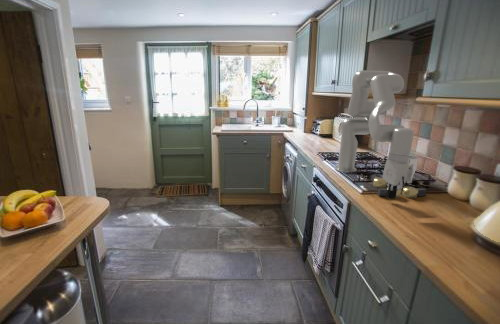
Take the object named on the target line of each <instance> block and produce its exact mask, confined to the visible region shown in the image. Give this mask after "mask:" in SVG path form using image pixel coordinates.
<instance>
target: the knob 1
mask: <svg viewBox="0 0 500 324" xmlns="http://www.w3.org/2000/svg"><path fill="white" fill-rule="evenodd" d="M387 191H388V188H387V187H386V188H377V193H376V194H377V196H378V197H386V196H387ZM401 195H402V189H398V191H397V193H396V198H395V199H396V200H398V199H401ZM395 199H394V200H395Z"/></svg>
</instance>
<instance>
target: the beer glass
mask: <svg viewBox="0 0 500 324" xmlns="http://www.w3.org/2000/svg"><path fill="white" fill-rule="evenodd" d="M418 160H419V157H418V156H415V155H411V154H410V156H409V161H408V171H407V179H406V183H405V184H412V183H413V178H414V175H415V172H416V170H417V167H418V162H419V161H418Z"/></svg>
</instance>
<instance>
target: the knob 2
mask: <svg viewBox="0 0 500 324" xmlns="http://www.w3.org/2000/svg"><path fill="white" fill-rule="evenodd" d="M426 194H427V188H422V187H421V188H415V187H414V186H407V185H406V186H402V191H401V195H402V197H404V198H406V199H413V200H414V199H417V197H425V196H426Z"/></svg>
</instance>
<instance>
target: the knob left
mask: <svg viewBox="0 0 500 324" xmlns="http://www.w3.org/2000/svg"><path fill="white" fill-rule="evenodd" d="M370 181H371V182H372V186H373V187H375V188H377V189H378V188H387V182H386V181H385V180H384V179H383V178H382V177H379V176H377V175H376V174H372V175H371V177H370Z"/></svg>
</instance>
